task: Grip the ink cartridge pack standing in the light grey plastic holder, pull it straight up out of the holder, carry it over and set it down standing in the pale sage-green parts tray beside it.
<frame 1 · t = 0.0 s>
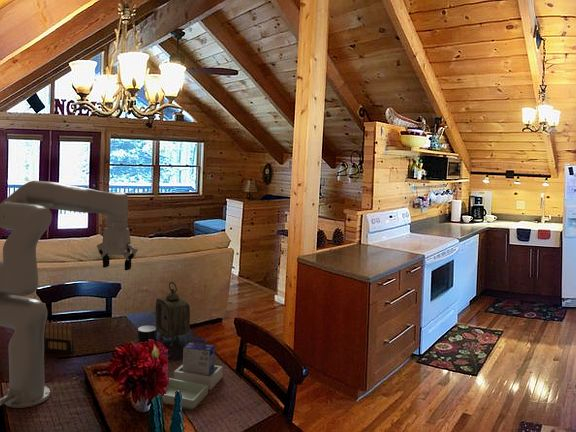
hand: (116, 268, 189), 31 cm above the table, tool pointing down, fingers open, 9 cm apart
ammunition clip: (58, 351, 184), on the table
ink cartridge box: (198, 380, 167), resting in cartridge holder
parts tray: (180, 397, 155), on the table
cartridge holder: (198, 380, 167), on the table
ring-top lantern: (172, 341, 199), on the table
ink bottle: (146, 359, 181), on the table
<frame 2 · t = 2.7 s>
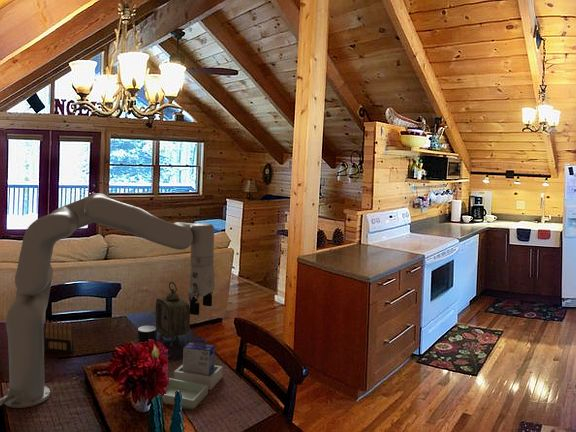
hand: (201, 309, 164), 25 cm above the table, tool pointing down, fingers open, 9 cm apart
nothing on the table moved.
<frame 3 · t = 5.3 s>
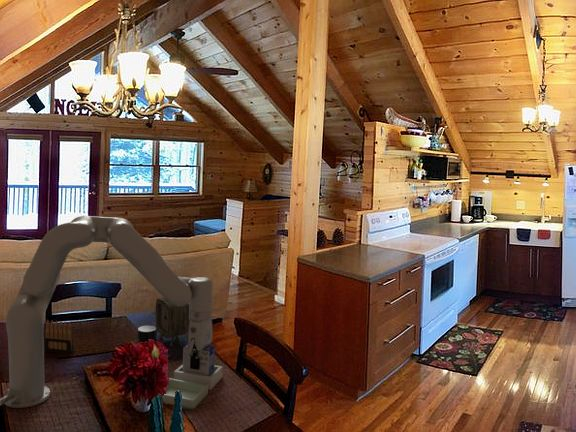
hand: (198, 364, 166), 6 cm above the table, tool pointing down, fingers closed on ink cartridge box, 5 cm apart
ink cartridge box: (198, 380, 167), resting in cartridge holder, touching gripper
everything else where it was.
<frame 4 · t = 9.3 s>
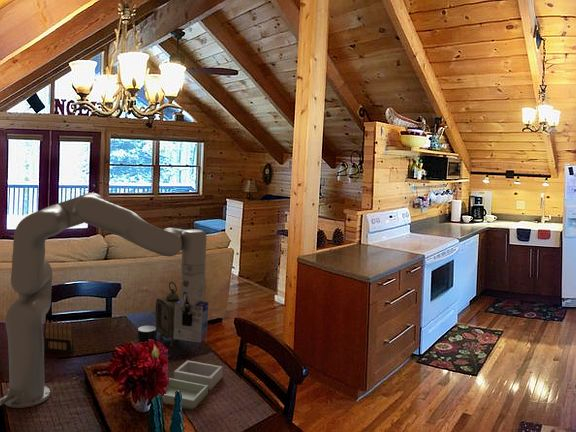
hand: (191, 321, 158), 23 cm above the table, tool pointing down, fingers closed on ink cartridge box, 5 cm apart
ink cartridge box: (190, 338, 159), point 17 cm above the table, touching gripper
everything else where it was.
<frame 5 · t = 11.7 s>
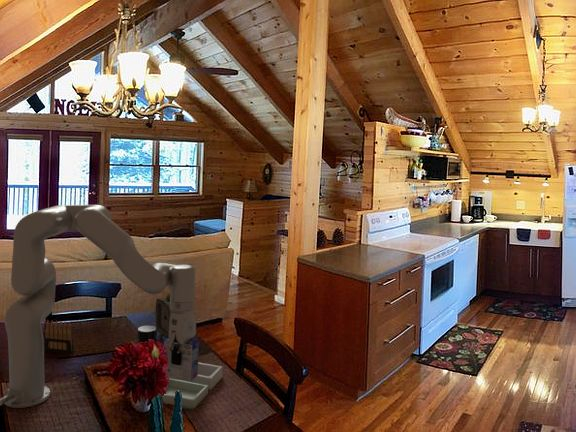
hand: (181, 359, 153), 13 cm above the table, tool pointing down, fingers closed on ink cartridge box, 5 cm apart
ink cartridge box: (180, 377, 154), point 7 cm above the table, touching gripper
everything else where it was.
when the fingers open (8 cm above the table, at t = 13.5 s): ink cartridge box drops 2 cm, resting on parts tray.
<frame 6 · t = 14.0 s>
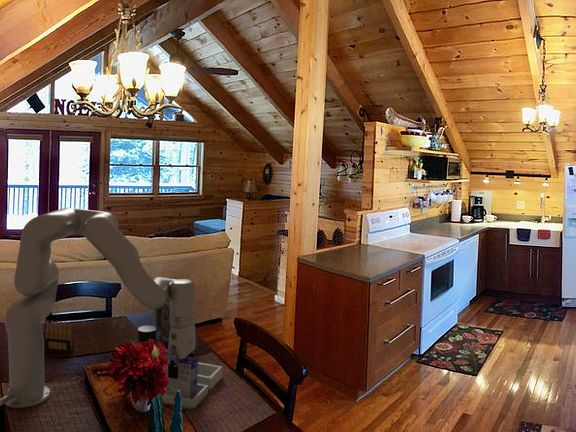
hand: (180, 371, 153), 9 cm above the table, tool pointing down, fingers open, 9 cm apart
ink cartridge box: (180, 395, 155), resting on parts tray
everything else where it was.
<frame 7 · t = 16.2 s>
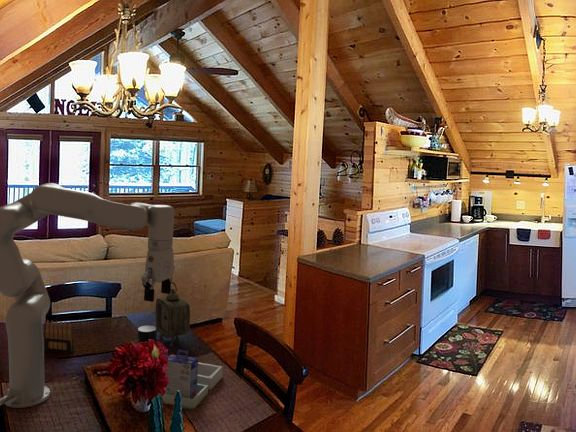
hand: (157, 297, 155), 31 cm above the table, tool pointing down, fingers open, 9 cm apart
nothing on the table moved.
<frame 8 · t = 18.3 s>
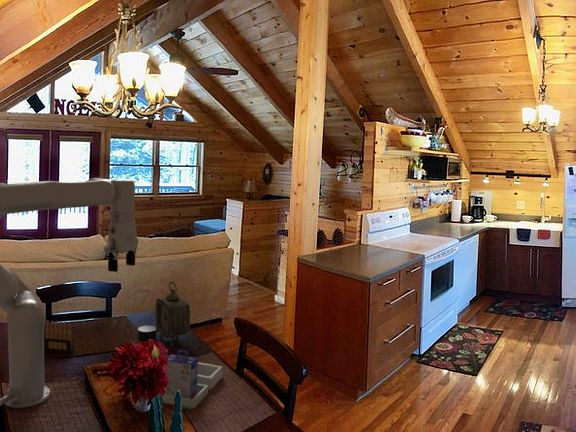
hand: (121, 268, 161), 38 cm above the table, tool pointing down, fingers open, 9 cm apart
nothing on the table moved.
at the end: ink cartridge box 0.4 cm off-centre on the parts tray, point 0.4 cm above the parts tray's base; the gripper is holding nothing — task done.
